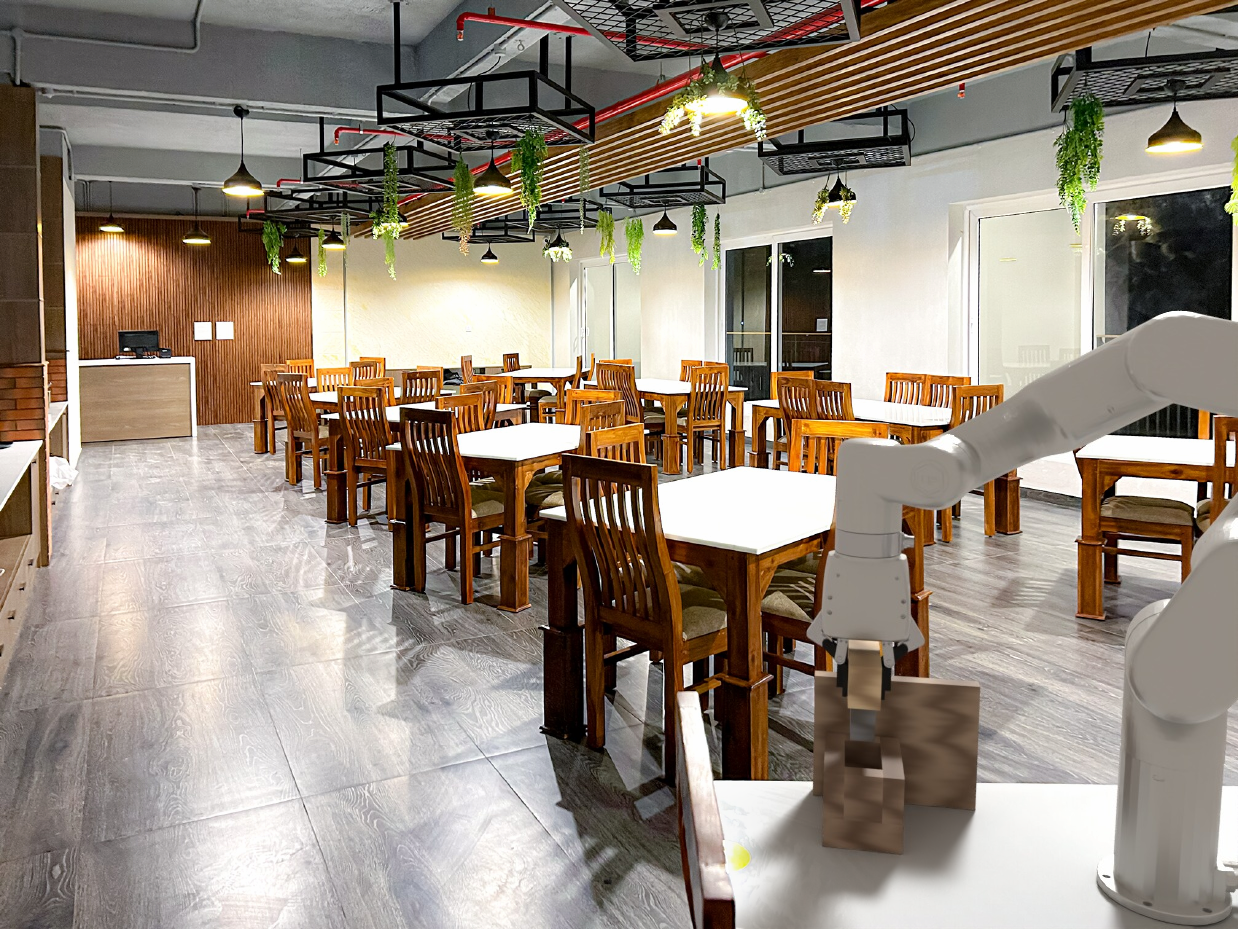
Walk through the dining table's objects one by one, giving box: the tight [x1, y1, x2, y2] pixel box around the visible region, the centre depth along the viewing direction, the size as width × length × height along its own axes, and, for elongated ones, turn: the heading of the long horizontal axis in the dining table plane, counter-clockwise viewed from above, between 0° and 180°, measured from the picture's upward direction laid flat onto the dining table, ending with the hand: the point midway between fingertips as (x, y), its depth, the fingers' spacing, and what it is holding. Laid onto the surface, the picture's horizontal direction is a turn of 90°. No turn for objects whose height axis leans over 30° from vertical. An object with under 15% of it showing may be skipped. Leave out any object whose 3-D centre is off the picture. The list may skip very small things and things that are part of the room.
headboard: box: [812, 670, 981, 855], centre depth 119 cm, size 20×15×16 cm
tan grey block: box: [847, 640, 882, 742], centre depth 117 cm, size 4×12×10 cm, turn 167°
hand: (863, 693), depth 117 cm, fingers closed on tan grey block, 3 cm apart
